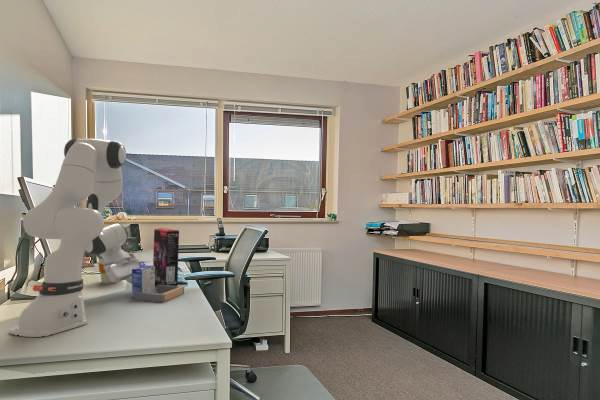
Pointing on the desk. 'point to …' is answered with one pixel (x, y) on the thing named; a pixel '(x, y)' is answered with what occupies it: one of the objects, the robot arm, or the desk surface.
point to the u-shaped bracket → (167, 295)
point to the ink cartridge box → (143, 279)
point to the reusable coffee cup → (103, 271)
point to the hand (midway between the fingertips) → (136, 284)
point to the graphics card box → (166, 256)
